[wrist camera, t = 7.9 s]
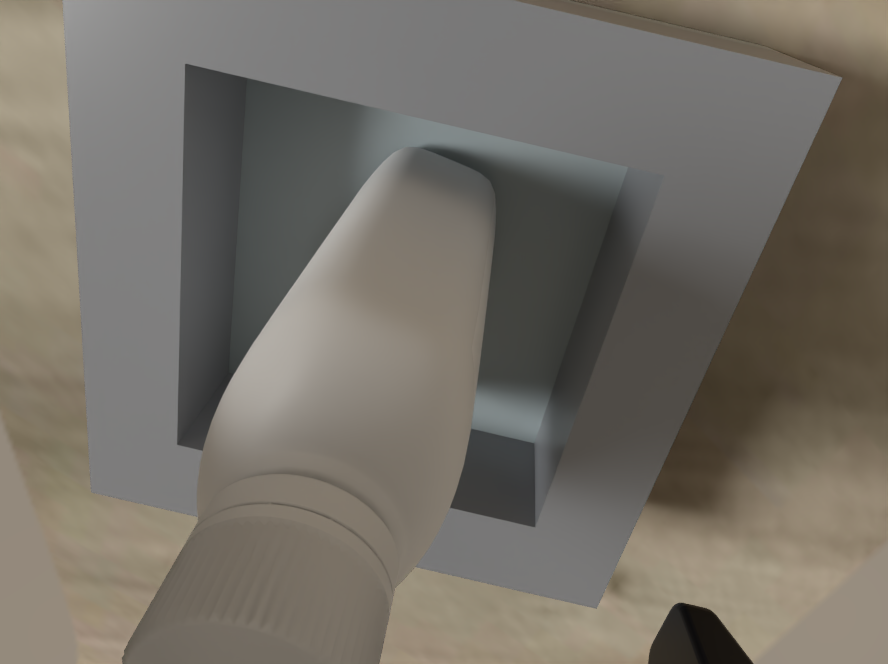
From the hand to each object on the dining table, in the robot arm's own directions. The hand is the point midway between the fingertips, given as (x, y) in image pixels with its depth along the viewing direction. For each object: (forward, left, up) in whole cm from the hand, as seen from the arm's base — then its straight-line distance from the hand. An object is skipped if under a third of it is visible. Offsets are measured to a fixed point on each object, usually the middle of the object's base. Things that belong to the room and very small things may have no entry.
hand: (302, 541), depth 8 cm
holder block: (0, 0, -10) cm, 10 cm away
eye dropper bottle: (0, 0, -9) cm, 9 cm away
